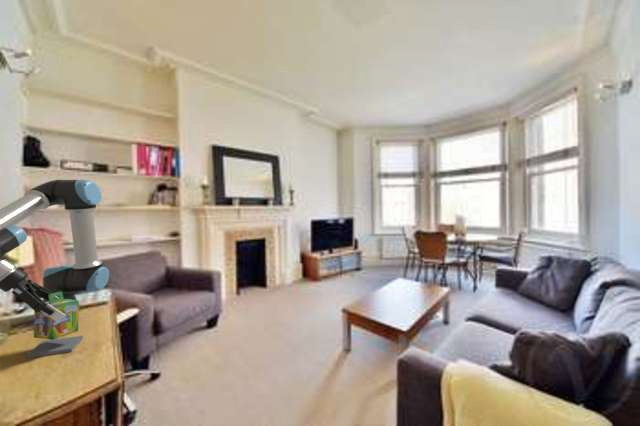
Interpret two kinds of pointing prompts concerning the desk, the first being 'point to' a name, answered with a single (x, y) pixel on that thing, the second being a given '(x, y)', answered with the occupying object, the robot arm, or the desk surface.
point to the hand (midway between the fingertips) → (65, 313)
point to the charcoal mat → (55, 346)
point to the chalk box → (50, 327)
